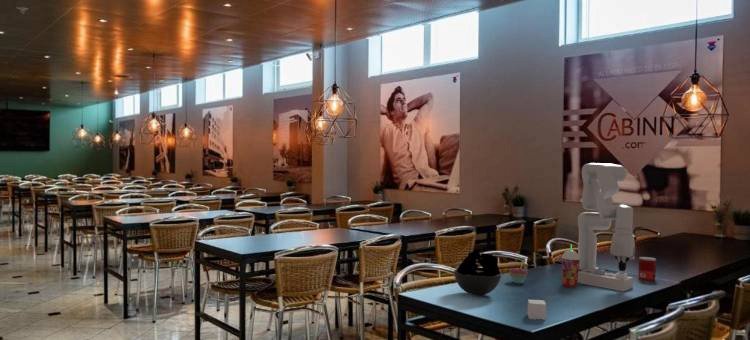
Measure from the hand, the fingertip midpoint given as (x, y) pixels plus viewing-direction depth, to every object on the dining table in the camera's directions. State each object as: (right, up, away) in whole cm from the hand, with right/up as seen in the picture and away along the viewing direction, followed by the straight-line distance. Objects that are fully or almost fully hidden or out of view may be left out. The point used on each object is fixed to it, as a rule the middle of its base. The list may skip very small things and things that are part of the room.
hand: (622, 270), depth 278 cm
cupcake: (-48, -7, +5) cm, 49 cm away
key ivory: (0, -5, +1) cm, 5 cm away
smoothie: (-25, -8, +1) cm, 26 cm away
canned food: (+23, -9, +24) cm, 34 cm away
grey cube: (-56, -8, -57) cm, 80 cm away
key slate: (-8, -5, +8) cm, 12 cm away
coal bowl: (-73, -7, -24) cm, 77 cm away
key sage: (-12, -7, +12) cm, 18 cm away
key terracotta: (-4, -7, +4) cm, 9 cm away
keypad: (-6, -8, +6) cm, 12 cm away
